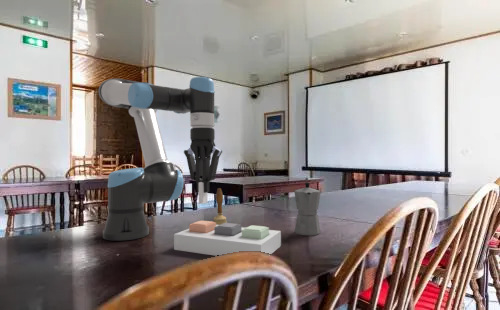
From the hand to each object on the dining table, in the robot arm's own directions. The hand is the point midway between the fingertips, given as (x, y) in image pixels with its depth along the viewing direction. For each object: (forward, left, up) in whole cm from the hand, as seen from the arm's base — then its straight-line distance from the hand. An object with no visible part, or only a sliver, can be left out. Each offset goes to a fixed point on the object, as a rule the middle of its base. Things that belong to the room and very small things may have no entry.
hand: (203, 202), depth 99 cm
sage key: (+18, 0, -10) cm, 20 cm away
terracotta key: (0, 0, -10) cm, 10 cm away
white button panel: (+9, 0, -13) cm, 16 cm away
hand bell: (-3, +16, -13) cm, 21 cm away
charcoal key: (+9, 0, -10) cm, 13 cm away
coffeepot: (+26, +29, -13) cm, 41 cm away
